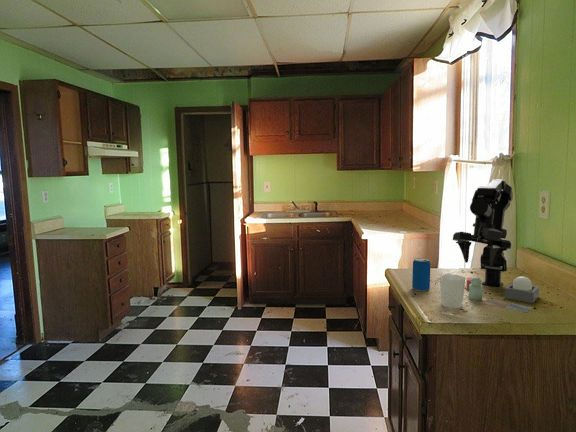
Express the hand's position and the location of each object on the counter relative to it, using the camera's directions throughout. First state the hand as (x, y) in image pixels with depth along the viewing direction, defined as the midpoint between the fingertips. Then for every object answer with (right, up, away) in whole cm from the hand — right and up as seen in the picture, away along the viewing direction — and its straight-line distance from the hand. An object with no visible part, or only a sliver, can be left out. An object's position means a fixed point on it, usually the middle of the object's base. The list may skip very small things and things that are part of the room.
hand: (478, 264), depth 145 cm
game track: (+5, -13, -2) cm, 14 cm away
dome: (+17, -11, +4) cm, 21 cm away
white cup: (-11, -14, -3) cm, 18 cm away
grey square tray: (+17, -13, +4) cm, 22 cm away
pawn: (0, -13, +3) cm, 13 cm away
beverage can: (-15, -12, +16) cm, 25 cm away
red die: (+5, -11, +15) cm, 20 cm away
